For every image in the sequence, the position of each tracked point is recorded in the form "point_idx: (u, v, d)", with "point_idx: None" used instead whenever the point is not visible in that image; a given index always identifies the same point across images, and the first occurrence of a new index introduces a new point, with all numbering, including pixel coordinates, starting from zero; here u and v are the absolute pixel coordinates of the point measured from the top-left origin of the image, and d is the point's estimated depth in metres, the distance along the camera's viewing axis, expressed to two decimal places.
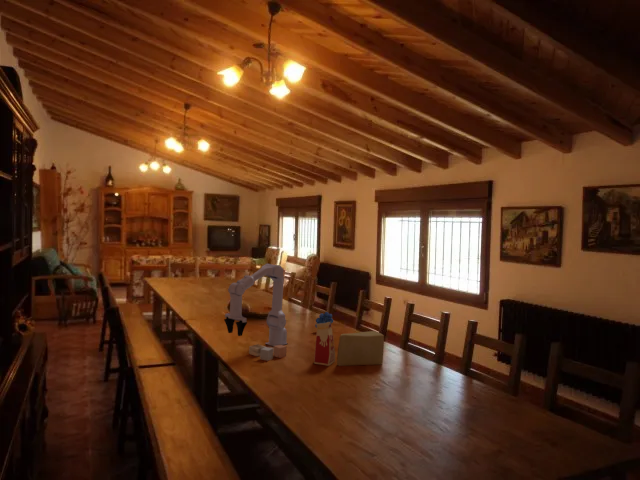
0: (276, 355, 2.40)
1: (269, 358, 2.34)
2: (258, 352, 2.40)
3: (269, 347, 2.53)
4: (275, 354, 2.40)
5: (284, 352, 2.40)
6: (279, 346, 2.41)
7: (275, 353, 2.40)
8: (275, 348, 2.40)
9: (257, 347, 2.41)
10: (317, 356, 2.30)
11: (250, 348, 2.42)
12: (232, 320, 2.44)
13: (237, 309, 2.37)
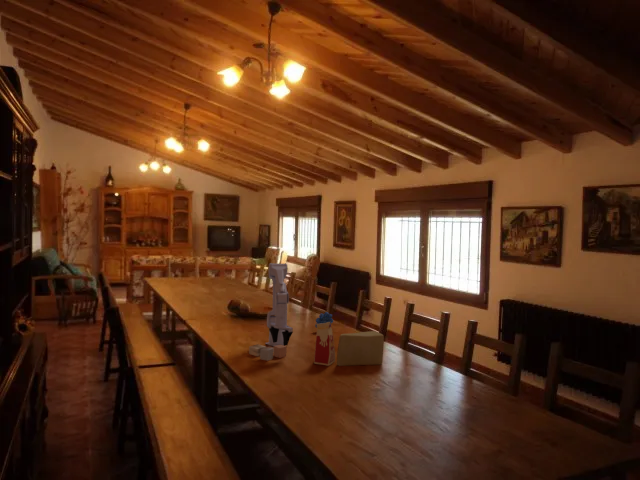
0: (276, 355, 2.40)
1: (269, 358, 2.34)
2: (258, 352, 2.40)
3: (269, 347, 2.53)
4: (275, 354, 2.40)
5: (284, 352, 2.40)
6: (279, 346, 2.41)
7: (275, 353, 2.40)
8: (275, 348, 2.40)
9: (257, 347, 2.41)
10: (317, 356, 2.30)
11: (250, 348, 2.42)
12: (277, 329, 2.44)
13: (283, 318, 2.38)
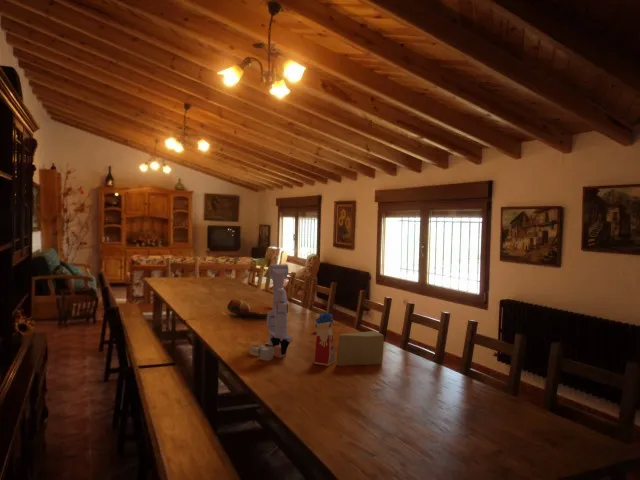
0: (276, 355, 2.40)
1: (269, 358, 2.34)
2: (258, 352, 2.40)
3: (269, 347, 2.53)
4: (275, 354, 2.40)
5: None
6: (279, 346, 2.41)
7: (275, 353, 2.40)
8: (275, 348, 2.40)
9: (257, 347, 2.41)
10: (317, 356, 2.30)
11: (250, 348, 2.42)
12: (278, 339, 2.43)
13: (282, 328, 2.38)
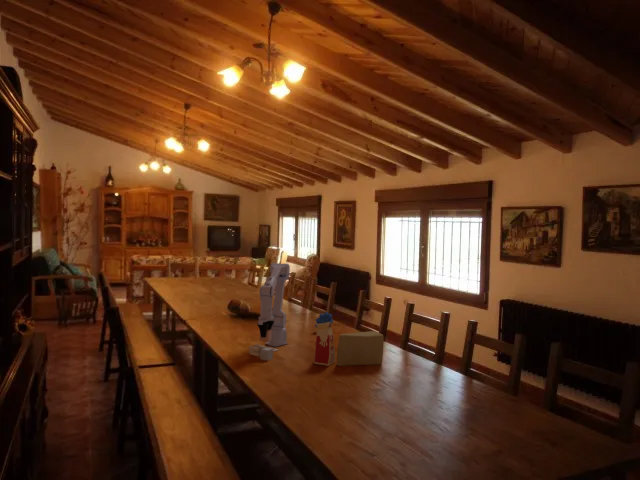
0: None
1: (269, 358, 2.34)
2: (259, 352, 2.40)
3: (269, 347, 2.53)
4: None
5: (265, 337, 2.40)
6: None
7: None
8: None
9: (257, 347, 2.41)
10: (317, 356, 2.30)
11: (250, 348, 2.42)
12: (269, 323, 2.44)
13: (262, 310, 2.39)
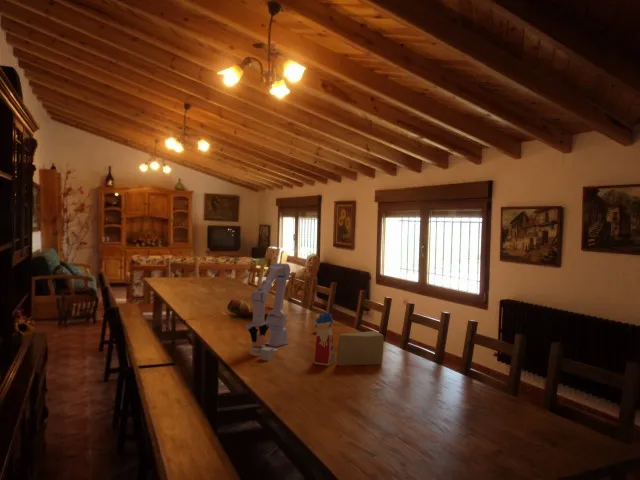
0: None
1: (269, 358, 2.34)
2: (259, 352, 2.40)
3: (269, 347, 2.53)
4: None
5: None
6: (257, 334, 2.43)
7: None
8: None
9: (257, 347, 2.41)
10: (317, 356, 2.30)
11: (250, 348, 2.42)
12: (263, 328, 2.44)
13: (253, 315, 2.41)
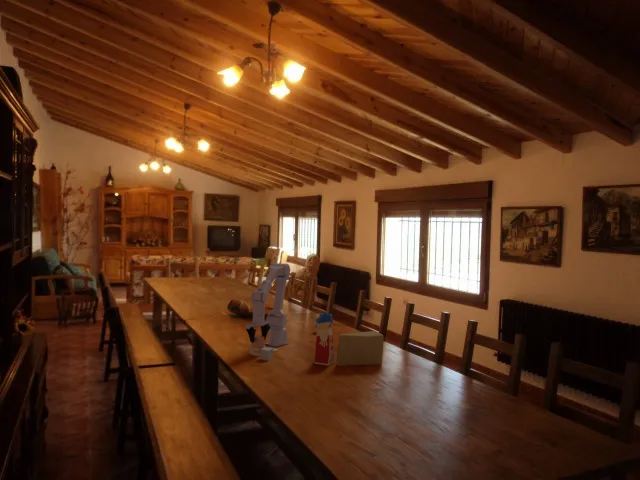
0: None
1: (269, 358, 2.34)
2: (259, 352, 2.40)
3: (269, 347, 2.53)
4: None
5: (255, 343, 2.41)
6: (257, 336, 2.43)
7: None
8: None
9: None
10: (317, 356, 2.30)
11: (250, 348, 2.42)
12: (265, 328, 2.45)
13: (253, 315, 2.41)
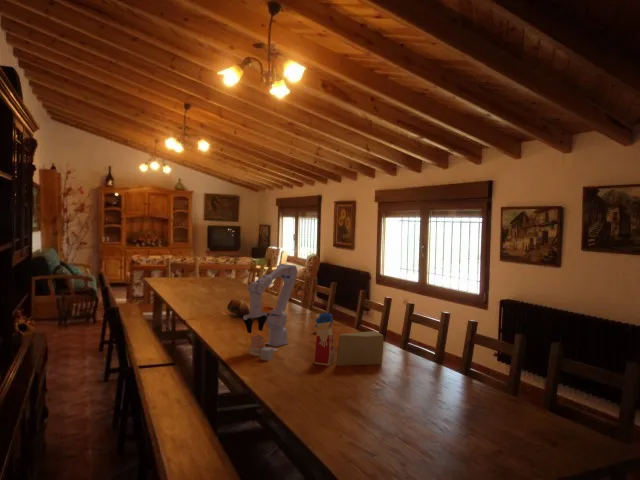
0: None
1: (269, 358, 2.34)
2: (259, 352, 2.40)
3: (269, 347, 2.53)
4: None
5: (255, 343, 2.41)
6: (257, 336, 2.43)
7: None
8: None
9: None
10: (317, 356, 2.30)
11: (250, 348, 2.42)
12: (261, 319, 2.50)
13: (250, 306, 2.47)
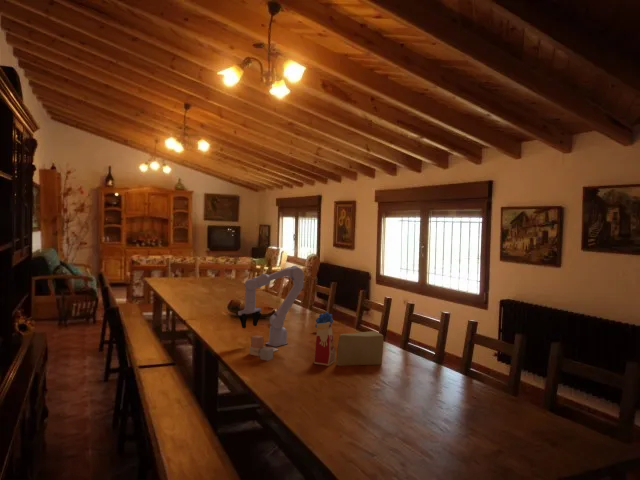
0: None
1: (269, 358, 2.34)
2: (259, 352, 2.40)
3: (269, 347, 2.53)
4: None
5: (255, 343, 2.41)
6: (256, 336, 2.43)
7: None
8: None
9: None
10: (317, 356, 2.30)
11: (250, 348, 2.42)
12: (256, 315, 2.60)
13: None
